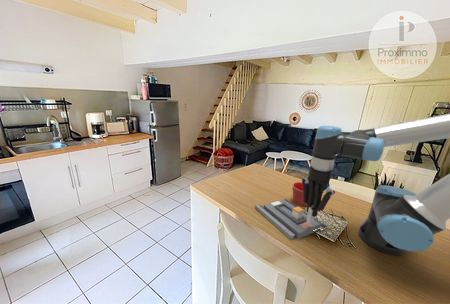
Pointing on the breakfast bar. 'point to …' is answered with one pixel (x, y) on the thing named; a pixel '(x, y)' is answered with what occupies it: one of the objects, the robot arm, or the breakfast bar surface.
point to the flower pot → (298, 194)
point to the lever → (297, 213)
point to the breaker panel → (291, 218)
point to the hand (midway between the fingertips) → (310, 221)
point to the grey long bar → (276, 222)
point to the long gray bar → (307, 214)
